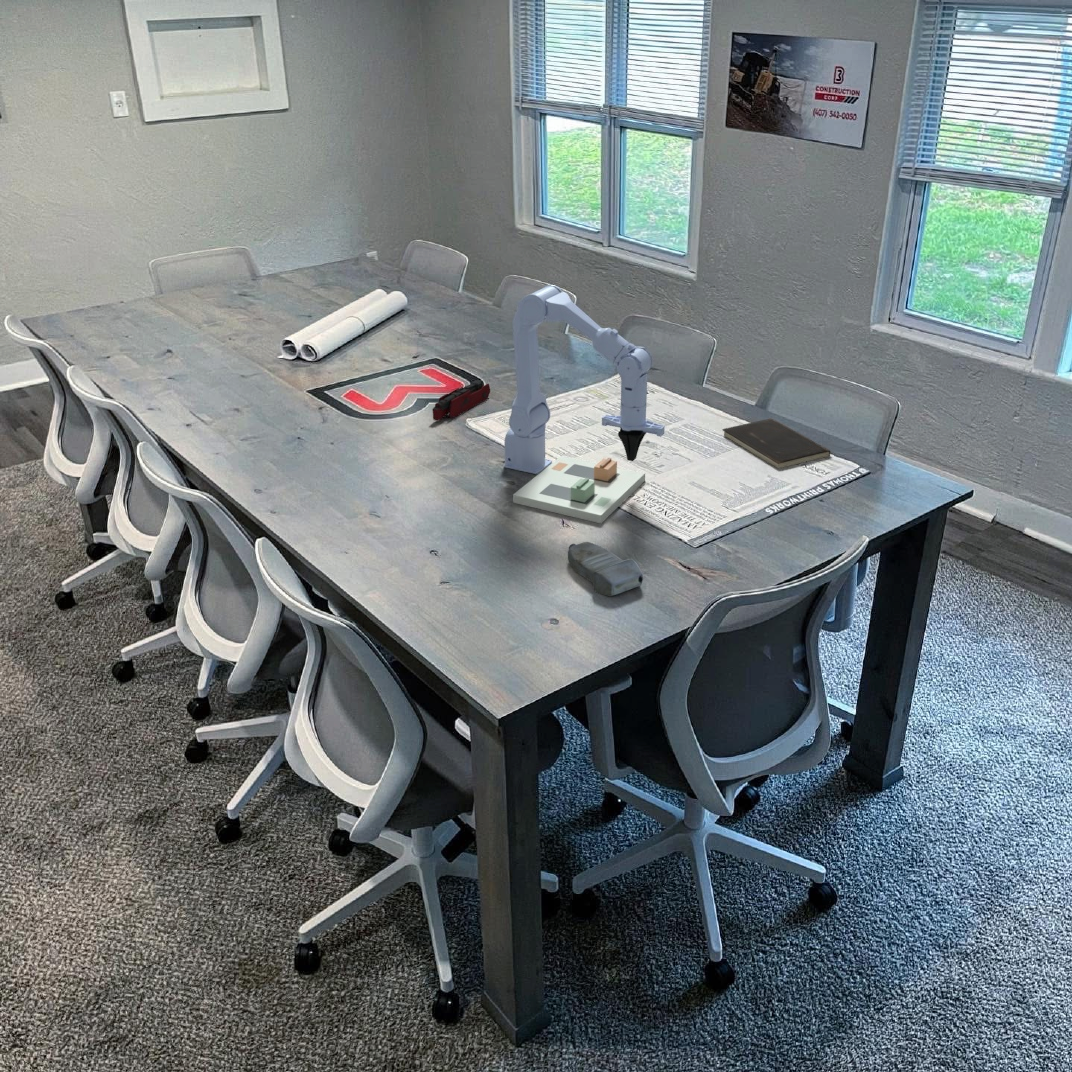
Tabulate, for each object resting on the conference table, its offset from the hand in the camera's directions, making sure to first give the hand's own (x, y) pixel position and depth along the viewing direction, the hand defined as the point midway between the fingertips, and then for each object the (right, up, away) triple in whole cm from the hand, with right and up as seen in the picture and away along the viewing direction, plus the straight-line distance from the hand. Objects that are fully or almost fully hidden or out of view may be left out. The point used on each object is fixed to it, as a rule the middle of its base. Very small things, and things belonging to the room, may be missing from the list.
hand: (631, 459), depth 240 cm
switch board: (-12, -7, +3) cm, 14 cm away
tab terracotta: (-6, -4, +6) cm, 9 cm away
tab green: (-11, -9, -4) cm, 15 cm away
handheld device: (-9, -25, -28) cm, 39 cm away
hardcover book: (+38, +5, +25) cm, 46 cm away
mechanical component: (-42, +17, +49) cm, 67 cm away
